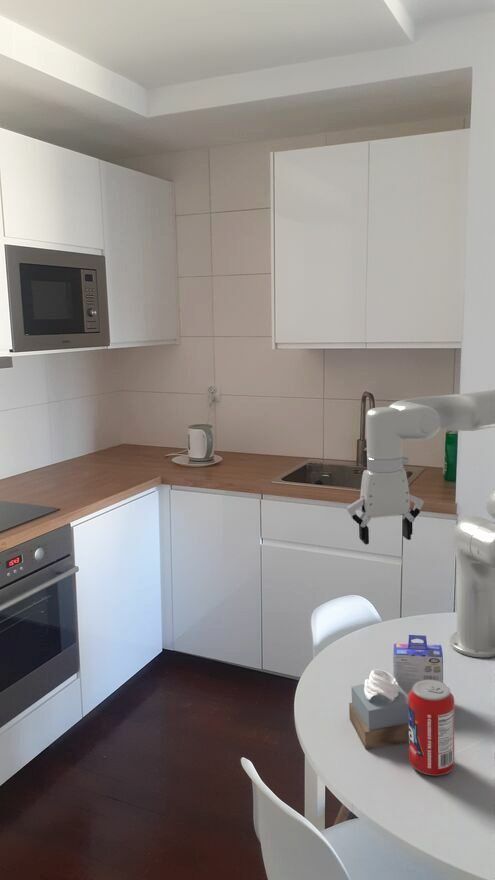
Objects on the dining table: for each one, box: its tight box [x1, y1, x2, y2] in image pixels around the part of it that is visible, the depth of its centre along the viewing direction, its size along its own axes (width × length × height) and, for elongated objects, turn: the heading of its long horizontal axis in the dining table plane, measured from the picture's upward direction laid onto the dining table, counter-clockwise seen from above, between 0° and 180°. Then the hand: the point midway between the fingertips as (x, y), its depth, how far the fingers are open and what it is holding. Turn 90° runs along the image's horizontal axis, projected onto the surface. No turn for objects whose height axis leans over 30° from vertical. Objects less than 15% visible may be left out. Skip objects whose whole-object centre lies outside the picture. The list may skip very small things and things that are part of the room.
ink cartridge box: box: [392, 634, 444, 696], centre depth 143 cm, size 10×6×14 cm, turn 78°
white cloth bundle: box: [364, 669, 399, 700], centre depth 135 cm, size 8×7×5 cm
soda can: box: [408, 679, 455, 776], centre depth 124 cm, size 8×8×15 cm
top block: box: [351, 683, 409, 730], centre depth 135 cm, size 9×9×4 cm
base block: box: [348, 702, 409, 750], centre depth 136 cm, size 10×10×4 cm
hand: (386, 540), depth 154 cm, fingers open, 9 cm apart
